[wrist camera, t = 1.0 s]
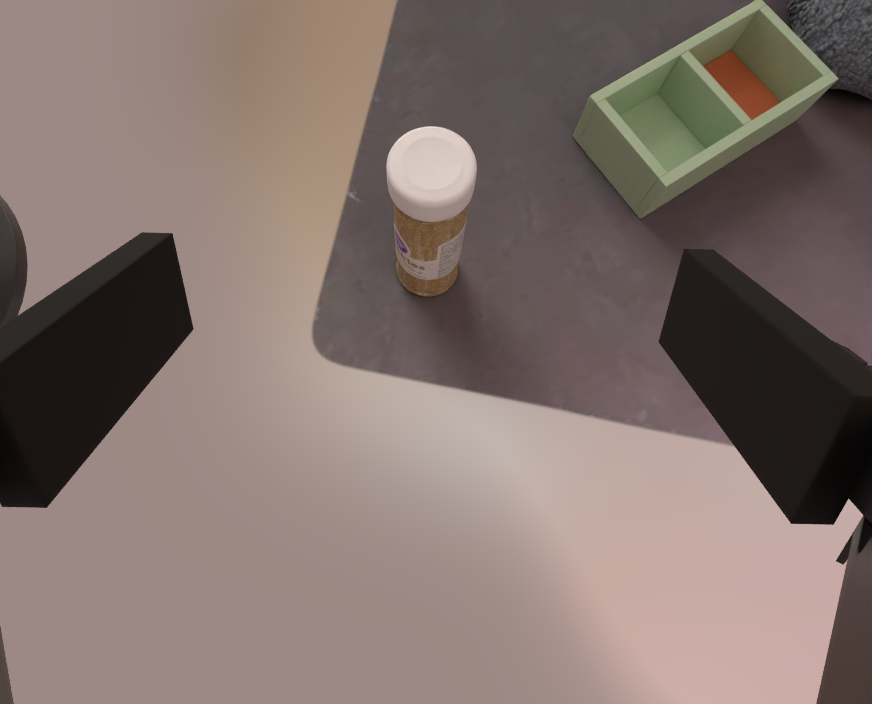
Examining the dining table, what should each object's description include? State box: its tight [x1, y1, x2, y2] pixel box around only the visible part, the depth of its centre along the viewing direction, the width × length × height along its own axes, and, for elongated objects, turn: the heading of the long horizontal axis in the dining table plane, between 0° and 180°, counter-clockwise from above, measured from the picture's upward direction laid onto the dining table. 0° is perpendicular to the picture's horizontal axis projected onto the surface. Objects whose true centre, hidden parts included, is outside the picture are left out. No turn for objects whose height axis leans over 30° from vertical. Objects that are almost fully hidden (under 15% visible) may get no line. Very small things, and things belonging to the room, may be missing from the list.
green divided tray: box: [573, 0, 838, 219], centre depth 41 cm, size 9×16×5 cm, turn 123°
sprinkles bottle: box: [387, 126, 477, 297], centre depth 33 cm, size 5×5×14 cm
